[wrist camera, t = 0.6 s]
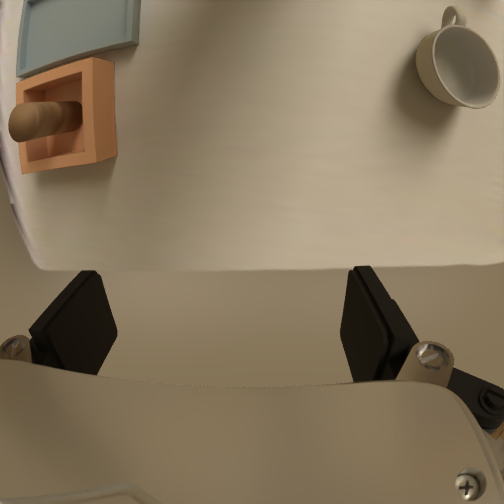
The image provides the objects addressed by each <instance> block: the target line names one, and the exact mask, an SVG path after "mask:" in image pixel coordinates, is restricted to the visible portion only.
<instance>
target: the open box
mask: <svg viewBox="0 0 504 504" xmlns="http://www.w3.org/2000/svg"><path fill="white" fill-rule="evenodd" d="M51 101H77V102H79V103H80V104H81V105H82V109H83V123H82V125H81V126H80V127H79V128H78V129H77V130H76V131H73V132H67V133H62V134H57V135H52V136H47V137H42V138H38V139H34V140H29V141H25V142H18V145H19V155H20V164H21V171H22V174H27V173H33V172H38V171H44V170H50V169H56V168H62V167H69V166H76V165H83V164H90V163H97V162H100V161H103V160H105V159H108V158H111V157H114V156H117V155H118V154H117V140H116V123H115V94H114V62H110V61H107V60H103V59H99V58H96V57H90V58H87V59H83V60H80V61H76V62H73V63H70V64H67V65H63V66H60V67H57V68H55V69H52V70H49V71H46V72H43V73H41V74H38V75H35V76H33V77H30V78H28V79H25V80H23V81H20V82H18V83H16V106H17V105H19V104H21V103H33V102H51Z"/></svg>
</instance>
